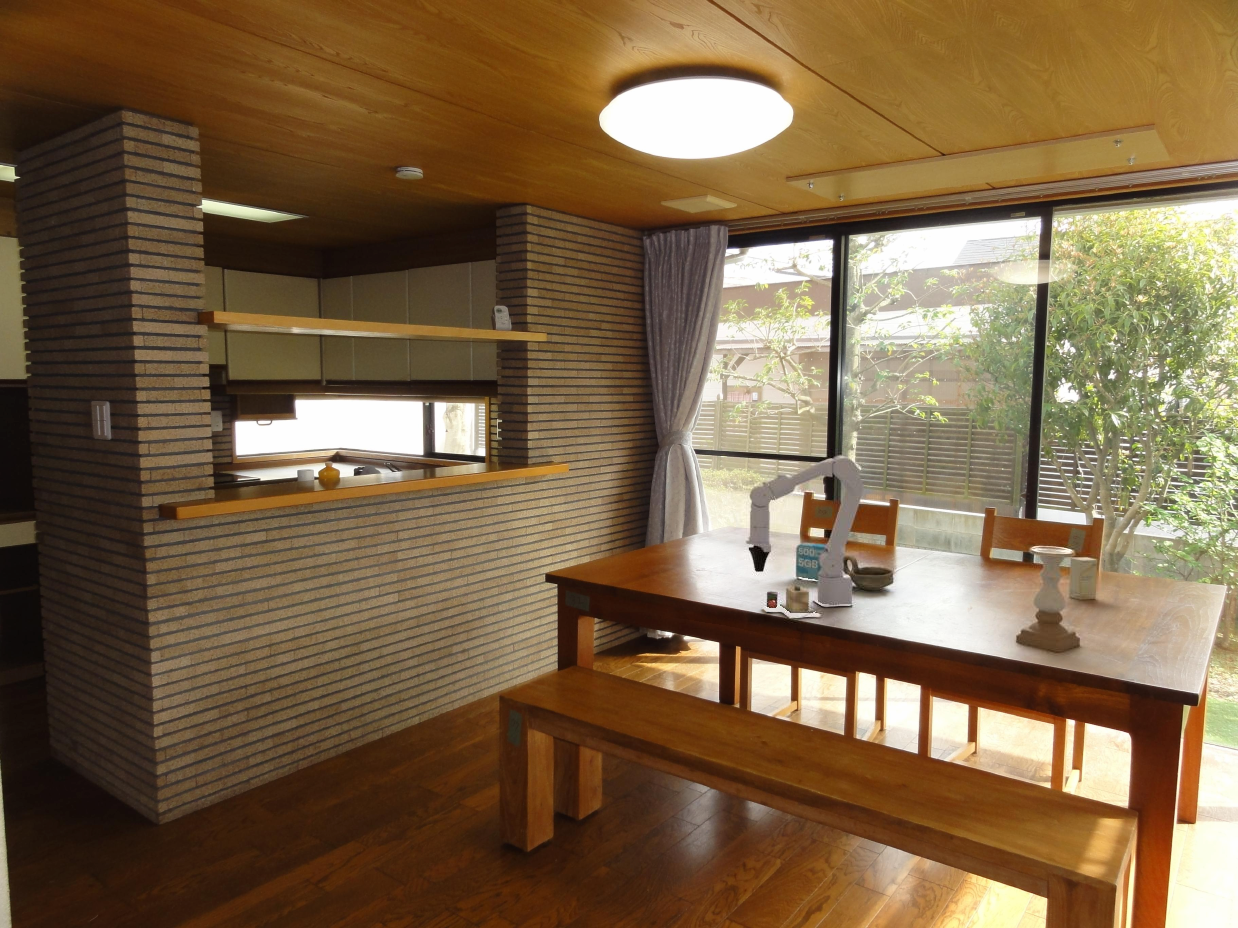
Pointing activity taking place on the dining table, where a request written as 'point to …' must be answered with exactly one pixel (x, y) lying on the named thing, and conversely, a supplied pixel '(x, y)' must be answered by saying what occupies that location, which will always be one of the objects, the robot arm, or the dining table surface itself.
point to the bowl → (868, 575)
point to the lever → (772, 599)
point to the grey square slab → (798, 610)
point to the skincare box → (1083, 578)
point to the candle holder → (1049, 605)
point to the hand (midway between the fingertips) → (759, 571)
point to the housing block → (797, 598)
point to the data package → (808, 560)
